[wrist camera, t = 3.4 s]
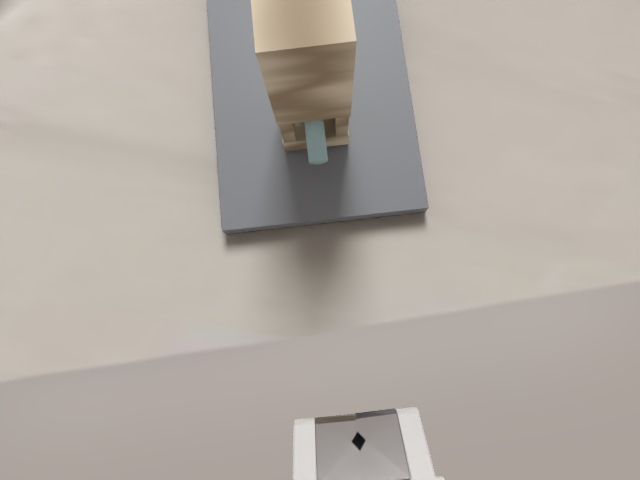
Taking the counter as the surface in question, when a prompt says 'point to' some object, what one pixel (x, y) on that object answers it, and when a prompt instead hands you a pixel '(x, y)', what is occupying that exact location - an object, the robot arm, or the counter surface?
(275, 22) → the notched wooden block
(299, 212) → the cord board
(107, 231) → the counter surface
